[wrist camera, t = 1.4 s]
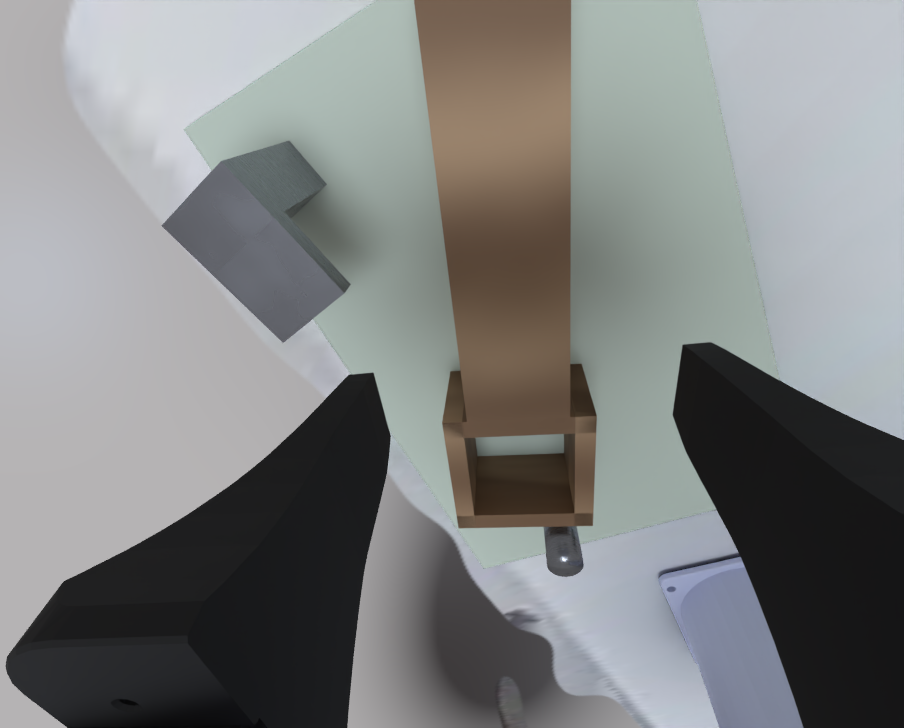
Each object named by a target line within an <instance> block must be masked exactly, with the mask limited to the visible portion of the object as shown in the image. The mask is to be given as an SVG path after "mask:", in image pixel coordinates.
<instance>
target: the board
mask: <svg viewBox="0 0 904 728" xmlns="http://www.w3.org/2000/svg"><path fill="white" fill-rule="evenodd" d="M184 131H185V132H186V134H187V135H188V137H189V138H190V139H191V141H192V142H193V144H194V145H195V147H196V148H197V150H198V151H199V153H200V154H201V156H202V157H203V159H204V160H205V161H206V163H207V164H208V166H209V167H210V169H211V170H213V169H214V168H215V167H216V166H217V165H218V164H219V163H220V162H221V161H223V160H226V159H229V158H233V157H236V156H239V155H243V154H246V153H249V152H253V151H256V150H259V149H263V148H266V147H269V146H273V145H276V144H279V143H283V142H286V141H290V142H291V143H292V144H293V145H294V146H295V148H296V149H297V150H298V151H299V152H300V153H301V155H302V156H303V157H304V158H305V159H306V160H307V162H308V163H309V164H310V165H311V166H312V167H313V169H314V170H315V171H316V172H317V173H318V174H319V176H320V177H321V178H322V179H323V180H324V181H325V182H326V184H327V185H326V186H325V187H324V188H323V189H322V190H321V191H320V192H319V193H318V194H317V195H315V196H314V197H313V198H312V199H311V200H310V201H309V202H308V203H307V204H306V205H305V206H304V207H303V208H302V209H301V210H300V211H298V212H297V213H296V214H295V215H294V216H293V217H292V218H291V220H292V221H293V222H294V223H295V224H296V225H297V226H298V227H299V228H300V229H301V231H302V232H303V233H304V234H305V235H306V236H307V237H308V238H309V239H310V240H311V241H312V242H313V244H314V245H315V246H316V247H317V248H318V249H319V250H320V251H321V252H322V253H323V254H324V256H325V257H326V258H327V259H328V260H329V261H330V262H331V263H332V264H333V265H334V266H335V268H336V269H337V270H338V271H339V272H340V273H341V274H342V275H343V276H344V277H345V278H346V279H347V281H348V282H349V283H350V284H351V285H350V286H349V288H348V289H347V290H346V292H345V293H344V294H343V295H342V296H341V297H339V298H338V299H337V300H336V301H334V302H333V303H332V304H331V305H329V306H328V307H327V308H326V309H324V310H323V311H322V312H321V313H319V314H318V315H317V316H316V317H314V318H313V320H314V321H315V323H316V324H317V325H318V327H319V328H320V330H321V331H322V333H323V334H324V336H325V337H326V339H327V340H328V342H329V343H330V344H331V346H332V347H333V349H334V350H335V352H336V353H337V355H338V356H339V358H340V359H341V361H342V362H343V364H344V365H345V366H346V368H347V369H348V371H349V372H350V374H362V373H374V376H375V380H376V383H377V387H378V391H379V395H380V398H381V402H382V406H383V410H384V413H385V417H386V421H387V425H388V428H389V431H390V432H391V434H392V435H393V437H394V438H395V440H396V441H397V443H398V444H399V446H400V447H401V448H402V450H403V451H404V453H405V454H406V456H407V457H408V459H409V460H410V462H411V463H412V465H413V466H414V467H415V469H416V470H417V472H418V473H419V475H420V476H421V478H422V479H423V481H424V482H425V484H426V485H427V487H428V488H429V489H430V491H431V492H432V494H433V495H434V497H435V498H436V500H437V501H438V503H439V504H440V506H441V507H442V508H443V510H444V511H445V513H446V514H447V516H448V517H449V519H450V520H451V522H452V523H453V525H454V526H455V528H456V529H457V530H458V532H459V533H460V535H461V536H462V538H463V539H464V541H465V542H466V544H467V545H468V547H469V548H470V549H471V551H472V552H473V554H474V555H475V557H476V558H477V560H478V561H479V563H480V564H481V566H482V567H483V569H486V568H490V567H494V566H497V565H501V564H505V563H509V562H513V561H517V560H521V559H525V558H529V557H533V556H537V555H541V554H544V553H546V547H545V537H544V528H543V527H507V528H458V522H457V515H456V509H455V502H454V496H453V490H452V483H451V477H450V471H449V464H448V458H447V452H446V445H445V439H444V432H443V426H442V420H443V414H444V408H445V402H446V395H447V389H448V383H449V377H450V371H461V370H460V362H459V354H458V346H457V339H456V331H455V323H454V315H453V307H452V299H451V291H450V283H449V275H448V267H447V259H446V251H445V243H444V235H443V227H442V219H441V211H440V203H439V195H438V187H437V179H436V172H435V164H434V156H433V148H432V140H431V132H430V124H429V116H428V108H427V100H426V92H425V84H424V76H423V68H422V60H421V52H420V44H419V36H418V28H417V20H416V12H415V5H414V0H376V1H375V2H373V3H372V4H370V5H369V6H367V7H366V8H364V9H363V10H361V11H360V12H358V13H357V14H355V15H354V16H352V17H351V18H349V19H348V20H346V21H345V22H343V23H342V24H340V25H339V26H337V27H336V28H334V29H333V30H331V31H330V32H328V33H327V34H325V35H324V36H322V37H321V38H319V39H318V40H316V41H315V42H313V43H312V44H310V45H309V46H307V47H306V48H304V49H303V50H301V51H300V52H298V53H297V54H295V55H294V56H292V57H291V58H289V59H288V60H286V61H285V62H283V63H282V64H280V65H279V66H277V67H276V68H274V69H273V70H271V71H270V72H268V73H267V74H265V75H264V76H262V77H261V78H259V79H258V80H256V81H255V82H253V83H252V84H250V85H249V86H247V87H246V88H244V89H243V90H241V91H240V92H238V93H237V94H235V95H234V96H232V97H231V98H229V99H228V100H226V101H225V102H223V103H222V104H220V105H219V106H217V107H216V108H214V109H213V110H211V111H210V112H208V113H207V114H205V115H204V116H202V117H201V118H199V119H198V120H196V121H195V122H193V123H192V124H190V125H189V126H188V127H186V128H185V129H184ZM706 342H712V343H714V344H716V345H718V346H720V347H722V348H724V349H725V350H727V351H729V352H731V353H733V354H734V355H736V356H738V357H740V358H741V359H743V360H745V361H746V362H748V363H750V364H752V365H753V366H755V367H757V368H758V369H760V370H762V371H764V372H765V373H767V374H769V375H771V376H772V377H774V378H776V379H778V380H779V381H780V379H779V375H778V370H777V366H776V361H775V357H774V352H773V347H772V343H771V338H770V334H769V329H768V324H767V320H766V315H765V311H764V306H763V301H762V297H761V292H760V288H759V283H758V278H757V274H756V269H755V265H754V260H753V256H752V251H751V246H750V242H749V237H748V233H747V228H746V223H745V219H744V214H743V210H742V205H741V200H740V196H739V191H738V187H737V182H736V178H735V173H734V168H733V164H732V159H731V155H730V150H729V145H728V141H727V136H726V132H725V127H724V122H723V118H722V113H721V109H720V104H719V100H718V95H717V90H716V86H715V81H714V77H713V72H712V67H711V63H710V58H709V54H708V49H707V44H706V40H705V35H704V31H703V26H702V22H701V17H700V12H699V8H698V3H697V0H571V282H570V364H582V367H583V370H584V374H585V377H586V381H587V384H588V387H589V391H590V394H591V398H592V401H593V404H594V408H595V411H596V415H597V426H596V455H595V483H594V512H593V526H577V530H578V536H579V541H580V544H584V543H588V542H591V541H595V540H599V539H603V538H607V537H611V536H615V535H619V534H623V533H627V532H631V531H635V530H638V529H642V528H646V527H650V526H654V525H658V524H662V523H666V522H670V521H674V520H678V519H682V518H686V517H689V516H693V515H697V514H701V513H705V512H709V511H713V510H717V509H716V508H715V506H714V504H713V502H712V500H711V498H710V496H709V495H708V493H707V491H706V489H705V487H704V485H703V484H702V482H701V480H700V478H699V476H698V474H697V472H696V470H695V468H694V467H693V465H692V463H691V461H690V459H689V457H688V455H687V453H686V451H685V448H684V446H683V443H682V440H681V438H680V435H679V432H678V429H677V426H676V423H675V421H674V418H673V415H672V414H673V408H674V401H675V394H676V387H677V380H678V373H679V366H680V359H681V352H682V345H684V344H695V343H706ZM475 439H476V448H477V456H501V455H529V454H556V453H564V434H550V435H526V436H502V437H478V438H475Z"/></svg>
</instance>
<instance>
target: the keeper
mask: <svg viewBox="0 0 904 728" xmlns="http://www.w3.org/2000/svg"><path fill="white" fill-rule="evenodd" d="M326 185H327V184H326V182H325V181H324V180H323V179H322V178H321V177H320V176H319V174H318V173H317V172H316V171H315V170H314V169H313V167H312V166H311V165H310V164H309V163H308V162H307V160H306V159H305V158H304V157H303V156H302V155H301V153H300V152H299V151H298V150H297V149H296V148H295V146H294V145H293V144H292V143H291V142H290V141H286V142H283V143H279V144H276V145H273V146H269V147H266V148H263V149H259V150H256V151H253V152H249V153H246V154H243V155H239V156H236V157H233V158H229V159H226V160H223V161H221V162H220V163H219V164H218V165H217V166H216V167H215V168H214V169H213V170H212V171H211V172H210V174H209V175H208V176H207V177H206V178H205V179H204V180H203V181H202V182H201V183H200V184H199V186H198V187H197V188H196V189H195V190H194V191H193V192H192V193H191V194H190V195H189V197H188V198H187V199H186V200H185V201H184V202H183V203H182V204H181V205H180V206H179V207H178V209H177V210H176V211H175V212H174V213H173V214H172V215H171V216H170V217H169V218H168V219H167V221H166V222H165V223H164V224H163V225H162V227H163V228H164V229H165V230H167V231H168V232H169V233H170V234H171V235H172V236H173V237H174V238H175V239H176V240H177V241H178V242H179V243H180V244H181V245H182V246H183V247H184V248H185V249H186V250H187V251H188V252H189V253H190V254H191V255H192V256H194V257H195V258H196V259H197V260H198V261H199V262H200V263H201V264H202V265H203V266H204V267H205V268H206V269H207V270H208V271H209V272H210V273H211V274H212V275H213V276H214V277H215V278H216V279H217V280H218V281H220V282H221V283H222V284H223V285H224V286H225V287H226V288H227V289H228V290H229V291H230V292H231V293H232V294H233V295H234V296H235V297H236V298H237V299H238V300H239V301H240V302H241V303H242V304H243V305H244V306H245V307H247V308H248V309H249V310H250V311H251V312H252V313H253V314H254V315H255V316H256V317H257V318H258V319H259V320H260V321H261V322H262V323H263V324H264V325H265V326H266V327H267V328H268V329H269V330H270V331H271V332H273V333H274V334H275V335H276V336H277V337H278V338H279V339H280V340H281V341H282V342H285V341H286V340H287V339H288V338H290V337H291V336H292V335H293V334H295V333H296V332H297V331H298V330H300V329H301V328H302V327H303V326H305V325H306V324H307V323H308V322H310V321H311V320H312V319H313V318H314V317H316V316H317V315H318V314H319V313H321V312H322V311H323V310H324V309H326V308H327V307H328V306H329V305H331V304H332V303H333V302H334V301H336V300H337V299H338V298H339V297H341V296H342V295H343V294H344V293H345V292H346V290H347V289H348V288H349V286H350V285H351V284H350V283H349V282H348V281H347V279H346V278H345V277H344V276H343V275H342V274H341V273H340V272H339V271H338V270H337V269H336V268H335V266H334V265H333V264H332V263H331V262H330V261H329V260H328V259H327V258H326V257H325V256H324V254H323V253H322V252H321V251H320V250H319V249H318V248H317V247H316V246H315V245H314V244H313V242H312V241H311V240H310V239H309V238H308V237H307V236H306V235H305V234H304V233H303V232H302V231H301V229H300V228H299V227H298V226H297V225H296V224H295V223H294V222H293V221H292V220H291V218H292V217H293V216H294V215H295V214H296V213H297V212H298V211H300V210H301V209H302V208H303V207H304V206H305V205H306V204H307V203H308V202H309V201H310V200H311V199H312V198H313V197H314V196H315V195H317V194H318V193H319V192H320V191H321V190H322V189H323V188H324V187H325V186H326Z"/></svg>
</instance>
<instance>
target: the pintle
mask: <svg viewBox="0 0 904 728" xmlns="http://www.w3.org/2000/svg"><path fill="white" fill-rule="evenodd" d="M543 528H544V537H545V547H546V557H547V567H548V569H549V571H550V572H552V573H553V574H555V575H558V576H564V577H567V576H573V575H575V574H577V573H579V572H580V571H581V570H582V569H583V558H582V553H581V547H580V541H579V536H578V530H577V526H562V527H543Z"/></svg>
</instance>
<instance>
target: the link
mask: <svg viewBox="0 0 904 728" xmlns="http://www.w3.org/2000/svg"><path fill="white" fill-rule="evenodd" d="M414 5H415V12H416V20H417V28H418V36H419V44H420V52H421V60H422V68H423V76H424V84H425V92H426V100H427V108H428V116H429V124H430V132H431V140H432V148H433V156H434V164H435V172H436V179H437V187H438V195H439V203H440V211H441V219H442V227H443V235H444V243H445V251H446V259H447V267H448V275H449V283H450V291H451V299H452V307H453V315H454V323H455V331H456V339H457V346H458V354H459V362H460V370H461V371H450V377H449V383H448V389H447V395H446V402H445V408H444V414H443V420H442V426H443V432H444V439H445V445H446V452H447V458H448V464H449V471H450V477H451V483H452V490H453V496H454V502H455V509H456V515H457V522H458V528H507V527H562V526H593V512H594V483H595V455H596V426H597V415H596V411H595V408H594V404H593V401H592V398H591V394H590V391H589V387H588V384H587V381H586V377H585V374H584V370H583V367H582V364H570V282H571V0H414ZM550 434H564V453H556V454H529V455H501V456H477V448H476V439H475V438H478V437H502V436H526V435H550Z"/></svg>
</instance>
